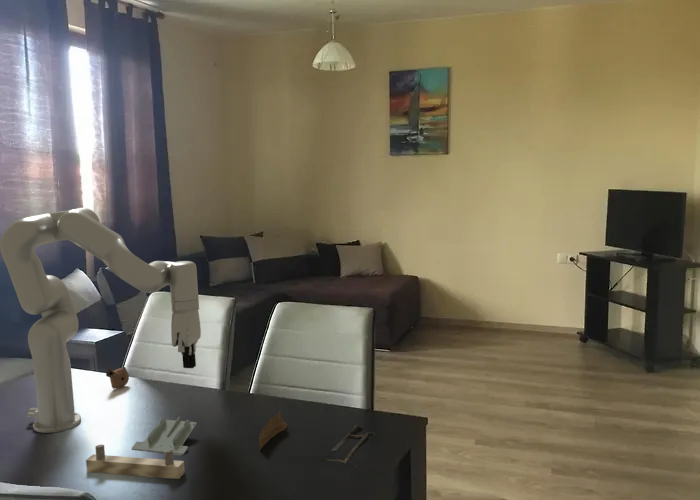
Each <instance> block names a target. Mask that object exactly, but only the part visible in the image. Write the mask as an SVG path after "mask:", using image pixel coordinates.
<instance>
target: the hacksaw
mask: <svg viewBox="0 0 700 500" xmlns="http://www.w3.org/2000/svg"><path fill="white" fill-rule="evenodd" d="M362 428H363V427H362V426H361V425H360V424H356V425H354V426H353V428H352V429H351V430H350V431H348V433H347V434H346V436H344V437H343V438H342V439H341V440H340V441H339V442H337V444H336V445H335V446H333V448H332V449H331V450H330V451H331V452H332V451H337V450H339V448H341V446H343V445H344V444H345V443H346V442H347V440H348V439H349V438H353V439H359V440H358V441H357V443H355V445H354V446H353V447H352V449H350V451H349V453H348V454H347V455H346V456H345V458H344V460H343V459H330V458H325V459H326V460H325V461H330V462H333V461H334V462H341V463H344V464H347V462H348V461H349V464H351V465H352V466H353V467H355V468H354V469H350V470H349V472H352V471H353V472H354V471H355V470H357V468H358V466H357V465H356V464H354V463H352V462H351V461H352V459H353V458H354V456H353V454H355V452H356V451H357V450H358V449H359V447H361V446H362V444H363V443H364V442H365V441H366V440H367V438H374V437H375V436H376V434H375V432H373V431H372V432H371V431H370V432H366V433H365V434H356V433H357V432H359V431H362ZM369 434H374V435H373V436H370V437H369ZM344 471H345V472H348V470H346V469H344Z"/></svg>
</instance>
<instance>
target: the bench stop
mask: <svg viewBox="0 0 700 500" xmlns="http://www.w3.org/2000/svg"><path fill="white" fill-rule="evenodd" d="M163 454H164V459H160V458H149V457H135V456H133V457H132V456H123V455H122V456H121V455H106V452H105V445H104V444H97V445H95V454H94V453H93V454H92V455H90V456H89V457H88V458H86V459H85V465H86V472H87V473H89V472H90V473H99V474H100V473H102V474H113V475H125V476H139V477H149V478H150V477H151V478H160V479H161V478H163V479H174V480H176V479H177V480H179V479H181V477H182V476H183V475H184V474H185V473H186V472H185V461H184V460H175V459H174V454H173V450H171V449H169V450H166V451H164V453H163Z"/></svg>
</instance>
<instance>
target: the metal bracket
mask: <svg viewBox="0 0 700 500" xmlns="http://www.w3.org/2000/svg"><path fill="white" fill-rule="evenodd" d="M196 425H197V422H196V421H190V420H189V419H186V420H185V421H184V420H181V417H180V416H178V417H177V419H176V420H175V419H174V420H173V419H172V420H171V419H166V417H161V418H160V420H159V421H158V422H157V423H156V425H155V426H154V427H153V429H152V430H151V431H150V433H149V434H148V436H147V437H146V438H145V440H144V441H136V442H135V443H134V444H133V446H132V447H131V451H141V452H151V453H162V454H164V451H166V450H169V449H171V450H173V456H174V455H175V456H183V455H185V454H186V452H187V450H188V449H189V446H187V445H184V444H185V442H186V441H187V439H188V437H189V436H190V434H191V433H192V432H193V430H194V428H195V427H196Z"/></svg>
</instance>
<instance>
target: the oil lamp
mask: <svg viewBox="0 0 700 500" xmlns="http://www.w3.org/2000/svg"><path fill="white" fill-rule="evenodd" d="M105 375H106V377H107V378H109V380H110V385H111V388H112V389H113V390H114V389H122V388H124V387H125V386H126V385H127V384H128V383H129V380H130V374H129V372H128V370H127V368H126V366H123V367H119V368H116V369H115V370H113V369H112V368H111V367H110V368H108V369H107V370H106V374H105Z"/></svg>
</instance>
